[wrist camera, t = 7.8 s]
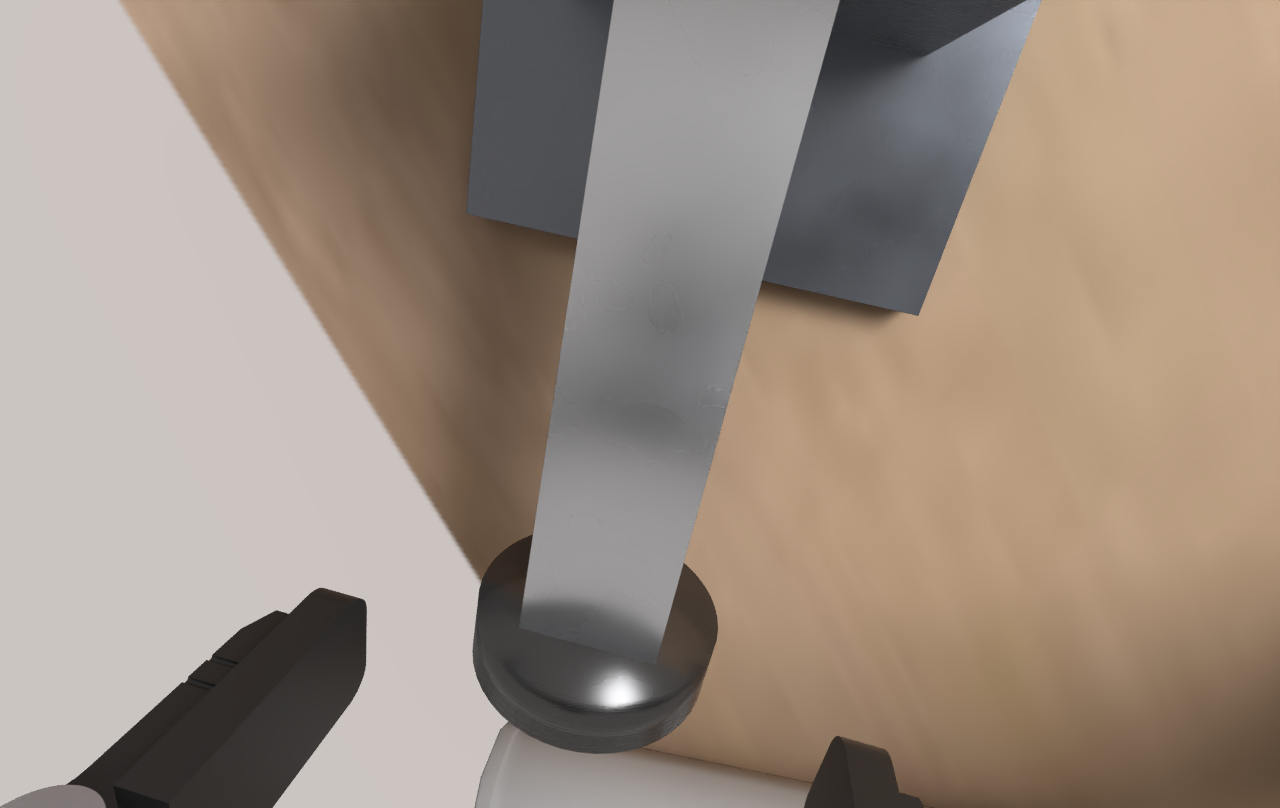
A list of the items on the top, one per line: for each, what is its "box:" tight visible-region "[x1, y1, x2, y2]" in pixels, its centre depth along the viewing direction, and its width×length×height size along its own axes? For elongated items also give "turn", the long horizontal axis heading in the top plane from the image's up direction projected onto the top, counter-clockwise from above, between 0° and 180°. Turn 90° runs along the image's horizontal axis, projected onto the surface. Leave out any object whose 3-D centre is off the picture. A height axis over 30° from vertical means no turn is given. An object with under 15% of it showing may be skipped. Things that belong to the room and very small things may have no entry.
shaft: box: [473, 0, 840, 754], centre depth 11 cm, size 6×18×6 cm, turn 169°
